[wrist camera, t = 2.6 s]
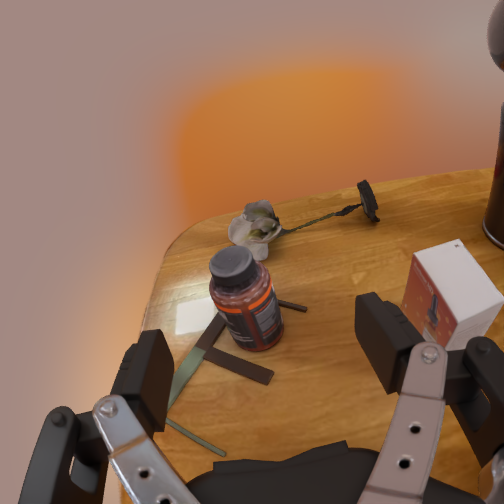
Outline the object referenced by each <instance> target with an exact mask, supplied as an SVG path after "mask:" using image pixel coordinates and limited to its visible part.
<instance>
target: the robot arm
mask: <svg viewBox="0 0 504 504" xmlns="http://www.w3.org/2000/svg"><path fill="white" fill-rule="evenodd" d="M487 43H488V48H489V52H490V55H491V57H492V59H493V61H494V62H495V64H496V65H497V66H498V67H499V68H500V69H501V70H502V71H503V72H504V0H499V1H498V2H497V4H496V6H495V7H494V9H493V12H492V14H491V16H490V19H489V23H488V29H487ZM499 133H500V134H499V143H498V151H497V158H496V165H495V171H494V177H493V182H492V187H491V192H490V197H489V201H488V205H487V209H486V213H485V216H484V219H483V223H482V226H483V230H484V232H485V234H486V235H487V237H488V238H489V239H490V240H491V241H492V242H493V243H494V244H496V245H497V246H498V247H500V248H502V249H504V102H503V104H502V107H501V121H500V132H499ZM355 333H356V337H357V339H358V341H359V343H360V345H361V347H362V349H363V350H364V352H365V354H366V356H367V358H368V359H369V361H370V363H371V365H372V367H373V369H374V370H375V372H376V374H377V376H378V378H379V380H380V382H381V383H382V385H383V387H384V389H385V391H386V393H387V395H388V394H391V393H394V392H397V393H398V395H399V399H398V402H397V405H396V409H395V412H394V415H393V418H392V421H391V424H390V426H389V429H388V432H387V435H386V438H385V440H384V443H383V445H382V448H381V451H380V452H377V451H374V450H370V449H365V448H348V446H347V443H346V440H344V441H340V442H336V443H332V444H328V445H324V446H320V447H316V448H313V449H310V450H308V451H306V452H303V453H301V454H299V455H296V456H294V457H292V458H289V459H287V460H284V461H280V462H276V461H261V460H249V459H242V460H232V461H219V462H213V470H212V471H209V472H206V473H204V474H201V475H199V476H197V477H195V478H194V479H192V480H191V481H189V482H188V483H187V482H186V481H185V480H184V479H183V477H182V476H181V475H180V474H179V473H178V472H177V470H176V469H175V468H174V467H173V465H172V464H171V463H170V461H169V460H168V459H167V458H166V456H165V455H164V454H163V452H162V451H161V450H160V448H159V447H158V445H157V444H156V443H155V441H154V440H153V435H154V432H164V428H165V422H166V416H167V409H168V403H169V397H170V392H171V386H172V380H173V375H174V360H173V357H172V354H171V352H170V349H169V347H168V345H167V342H166V340H165V337H164V335H163V332H162V331H161V330H160V329H156V330H147V331H142V333H141V335H140V338H139V341H138V343H136V344H132V346H131V347H130V348H129V349H128V350H127V351H126V352H125V355H124V358H123V360H122V363H121V365H120V370H119V371H118V373H117V376H116V379H115V381H114V384H113V387H112V390H111V392H110V395H108V396H105V397H103V398H101V399H100V400H99V401H97V403H96V404H95V405H94V407H93V410H92V411H89V412H85V413H81V414H76V415H75V413H74V412H73V411H72V410H71V409H70V408H69V407H66V406H60V407H57V408H55V409H53V410H52V411H51V412H50V413H49V414H48V415H47V417H46V419H45V421H44V424H43V427H42V429H41V432H40V435H39V437H38V440H37V443H36V446H35V448H34V452H33V455H32V457H31V460H30V464H29V467H28V470H27V473H26V476H25V480H24V483H23V487H22V491H21V494H20V498H19V502H18V504H102V503H103V495H104V488H105V482H106V476H107V470H108V464H109V461H110V463H111V465H112V467H113V469H114V471H115V472H116V474H117V476H118V478H119V480H120V481H121V483H122V485H123V487H124V488H125V490H126V492H127V493H128V495H129V497H130V498H131V500H132V501H133V503H134V504H504V353H503V352H502V351H501V349H500V348H499V347H498V346H497V345H496V343H495V342H494V341H492V340H491V339H489V338H487V337H483V336H477V337H473V338H471V339H470V340H469V341H468V342H467V345H466V348H465V349H461V350H452V351H446V349H445V348H444V347H443V346H442V345H440V344H438V343H435V342H430V341H426V340H425V339H424V338H423V336H422V335H421V334H420V333H419V332H418V330H417V329H416V328H415V327H414V325H413V324H412V323H411V322H410V321H409V319H408V318H407V317H406V316H405V315H404V313H403V312H402V311H401V310H400V309H399V307H398V306H396V305H395V304H393V303H391V302H389V301H384V302H383V301H382V300H381V299H380V298H379V297H378V295H377V294H376V293H375V292H371V293H366V294H362V295H358V296H356V301H355ZM481 389H482V390H483V392H484V393H485V395H486V396H487V398H488V400H489V401H490V403H489V401H488V400H487V398H486V396H485V395H484V393H483V392H482V390H481ZM445 405H450V407H451V409H452V411H453V413H454V414H455V416H456V418H457V420H458V422H459V424H460V426H461V428H462V429H463V431H464V433H465V435H466V437H467V439H468V441H469V443H470V445H471V447H472V449H473V451H474V453H475V455H476V457H477V459H478V461H479V464H480V466H481V468H482V470H481V471H480V474H479V477H478V491H479V492H480V494H479V497H478V496H476V495H473V494H471V493H468V492H465V491H463V490H460V489H458V488H455V487H453V486H450V485H448V484H446V483H443V482H441V481H439V480H436V479H434V478H432V477H430V476H429V475H430V471H431V468H432V464H433V460H434V457H435V453H436V449H437V445H438V440H439V436H440V431H441V426H442V421H443V416H444V410H445ZM73 456H74V457H75V458H74V462H73V466H72V470H71V474H70V475H69V469H70V465H71V461H72V457H73Z"/></svg>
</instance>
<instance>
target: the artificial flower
mask: <svg viewBox="0 0 504 504" xmlns="http://www.w3.org/2000/svg"><path fill="white" fill-rule="evenodd" d="M357 186H358V189H359V192H360V197H361V204H357V205H353V206H350V205H349V206H347V207H345V208H344V209H343V210H342V211H340V212H337V213H331V214H328V215H326V216H324V217H323V218H320V219H316V220H313V221H310V222H308V223H306V224H304V225H302V226H299V227H297V228H294V229H291V230H285V229H283V228H282V225H281V226H280V222H279V218H278V217H277V218H276V217H275V214H274V211H273V208H272V206H271V204H270V202H269V201H267V200H260V201H258V202H255V203H249V204H247V205H246V206H245V208H244V211H243V213H242V214H241V215H240V216H238V217H235V218H233V219H232V222H231V224H230V226H229V227H228V236H229V239H230V241H231V242H233V243H234V244H236V245H239V246H244V247H246V248H248V249H249V250H250V251H251V253H252V255H253V258H254V260H257V261H261V260H264V259H266V258H267V256H268V250H269V249H268V244H267V243H269V242H271V241H272V240H274V239H275V238H278V237H280V236H282V235H284V234H286V233H290V232H293V231H295V230H297V229H301V228H303V227H306V226H309V225H311V224H313V223H316V222H318V221H321V220H324V219H327V218H330V217H331V216H345V215H347V214H348V213H350V212H352V211H353V210H354V209H356V208H358V207H359V206H361V205H362V207H363V210H364V212H365V214H366V215H367V216H368V218H370V219H371V221H375V222H380V220H379V218H377V217H376V215H375V210H377V209H378V206H377V203H376V199H375V196H374V194H373V191H372V189H371V187H370V185H369V184H368V182H367V181H366V180H363V181H362V182H360V183H358V184H357Z"/></svg>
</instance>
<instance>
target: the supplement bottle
mask: <svg viewBox="0 0 504 504" xmlns="http://www.w3.org/2000/svg"><path fill="white" fill-rule="evenodd" d="M209 269H210V272H211V274H212V278H211V281H210V284H209V291H210V295H211V297H212V300H213V301H214V303H215V306H216V307H217V309H218V311H219V313H220V315H221V317H222V319H223V320H224V322H225V324H226V326H227V328H228V330H229V331H230V333H231V335H232V337H233V339H234V340H235V342H236V343H237V344H238V345H239V346H240V347H241V348H243V349H245V350H248V351H261V350H265V349H268V348H270V347H271V346H273V345H274V344H275V343H276V342H277V341H278V340H279V339H280V337H281V335H282V333H283V329H284V324H283V319H282V315H281V312H280V308H279V305H278V301H277V298H276V295H275V291H274V288H273V284H272V281H271V278H270V274H269V272H268V270H267V268H266V267H265V266H264V265H263V264H262V263H261V262H259V261H257V260H254V258H253V255H252V253H251V251H250V250H249V249H248V248H246V247H244V246H239V245H236V246H229V247H226V248H223V249H222V250H220V251H218V252H217V253H216V254H215V255H214V256H213V257H212V259H211V261H210V263H209Z"/></svg>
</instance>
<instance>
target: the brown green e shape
mask: <svg viewBox="0 0 504 504" xmlns="http://www.w3.org/2000/svg"><path fill="white" fill-rule="evenodd" d="M277 301H278V305H280V306H283V307H287V308H291V309H294V310H298V311H302V312H306V311H307V307H305V306H301V305H297V304H293V303H289V302H285V301H282V300H278V299H277ZM225 327H226V324H225V322H224V320H223V319H222V317H221V315H220V313H219V312H218V313H217V315H216V316H215V317H214V319H213V320H212V322H211V323H210V324H209V326H208V327H207V329H206V330H205V332H204V333H203V334H202V336H201V337H200V339H199V340H198V341H197V343H196V344H195V346H194V347H193V349H192V350H191V351H190V353H189V354H188V356H187V357H186V358H185V360H184V361H183V363H182V364H181V365H180V367H179V368H178V370H177V371H176V372H175V374H174V375H173V380H172V386H171V392H170V397H169V403H168V409H167V411H168V410H169V408H170V407H171V405H172V404H173V402H174V401H175V400H176V398H177V397H178V395H179V394H180V392H181V391H182V389H183V388H184V387H185V385H186V384H187V382H188V381H189V379H190V378H191V376H192V375H193V374H194V372H195V371H196V369H197V368H198V366H199V365H200V363H201V362H202V360H203V359H206V360H208V361H210V362H213V363H215V364H217V365H219V366H221V367H224V368H226V369H228V370H231V371H233V372H235V373H238V374H240V375H242V376H245V377H247V378H250V379H252V380H255V381H257V382H260V383H262V384H265V385H268V383H269V382H270V380H271V378H272V376H273V374H274V371H272V370H269V369H267V368H264V367H261V366H259V365H256V364H253V363H251V362H248V361H246V360H243V359H240V358H238V357H235V356H233V355H230V354H228V353H226V352H223V351H221V350H218V349H216V348H214V347H212V346H213V344H214V343H215V341H216V340H217V338H218V337H219V335H220V334H221V333H222V331H223V330H224V328H225ZM166 423H168V424H169V425H171V426H172V427H174V428H175V429H177V430H178V431H180V432H181V433H183V434H185V435H186V436H188V437H189V438H191V439H193V440H194V441H196V442H198V443H199V444H201V445H203V446H205V447H206V448H208V449H210V450H212V451H213V452H215V453H217V454H219V455H221V456H222V457H225V455H226V453H225V452H223V451H222V450H220V449H218V448H216V447H214V446H212V445H211V444H209V443H207V442H205V441H204V440H202V439H200V438H198V437H197V436H195V435H193V434H192V433H190V432H188V431H187V430H185V429H184V428H182V427H180V426H179V425H177V424H176V423H174V422H173V421H171V420H169V419H168V418H166Z"/></svg>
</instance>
